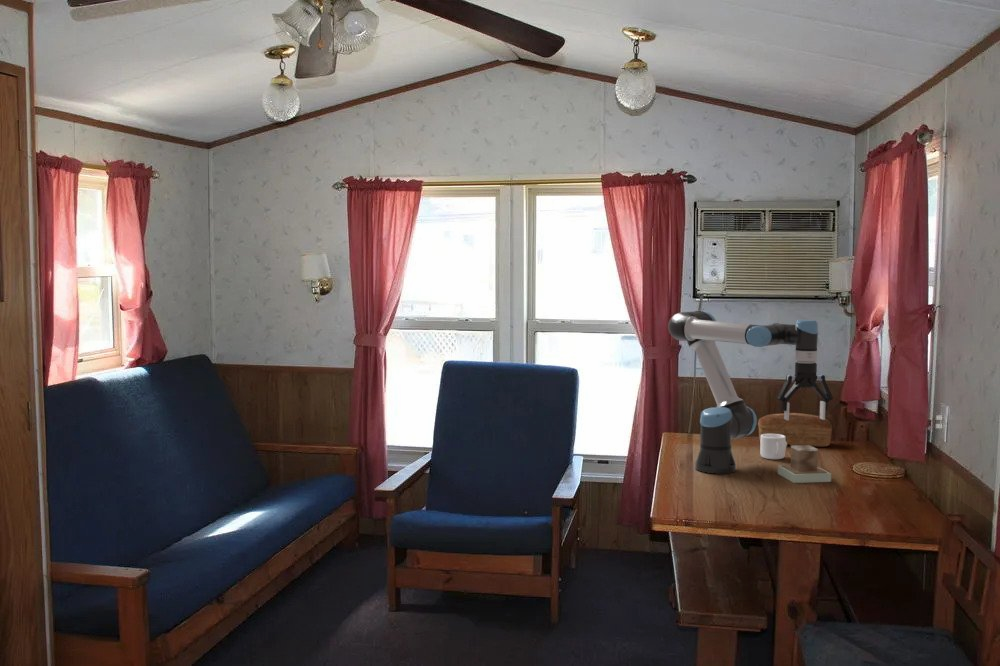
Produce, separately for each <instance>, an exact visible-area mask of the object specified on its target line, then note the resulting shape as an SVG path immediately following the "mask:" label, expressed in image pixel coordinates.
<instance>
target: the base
mask: <svg viewBox="0 0 1000 666" xmlns="http://www.w3.org/2000/svg"><path fill="white" fill-rule="evenodd" d="M777 474H778V475H779V476H781V477H783V478H784V479H786V480H788V481H790V482H791V483H793V484H797V483H798V484H801V483H803V484H805V483H830V482H832V473H831V472H830V471H829V472H828V471H827V470H825V469H823V468H820V467H819V466H817V471H797V470H796V469H794V468H792V467H791V464H789V465H788V464H787V465H786V464H785V465H777Z"/></svg>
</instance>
